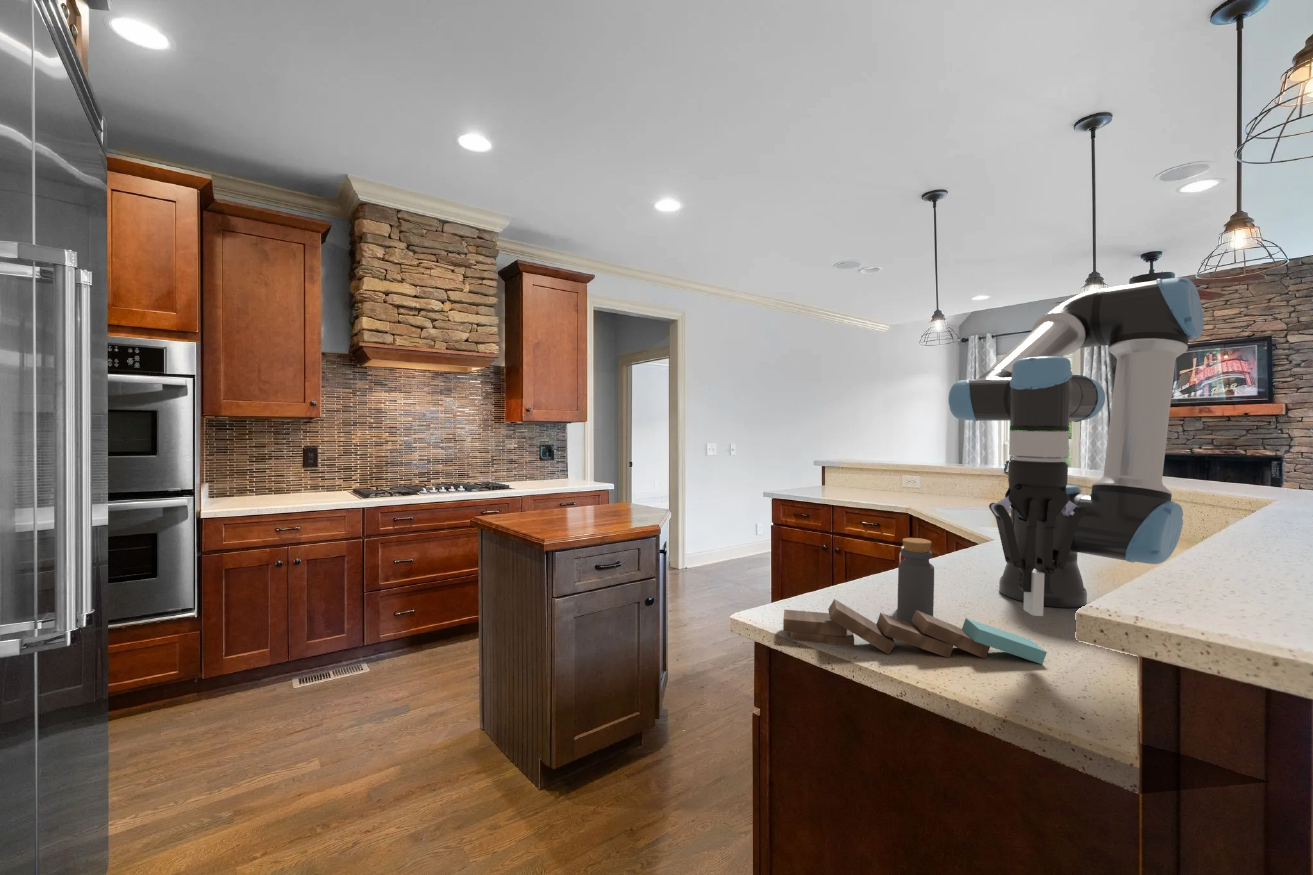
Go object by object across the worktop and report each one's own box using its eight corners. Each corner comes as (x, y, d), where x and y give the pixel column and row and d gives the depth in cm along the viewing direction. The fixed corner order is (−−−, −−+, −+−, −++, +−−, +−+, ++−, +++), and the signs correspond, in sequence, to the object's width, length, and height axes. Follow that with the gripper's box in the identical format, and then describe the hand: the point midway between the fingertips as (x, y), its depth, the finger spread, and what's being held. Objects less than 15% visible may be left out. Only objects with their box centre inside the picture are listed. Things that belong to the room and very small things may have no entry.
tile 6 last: (852, 627, 96) (791, 621, 99) (854, 638, 92) (790, 631, 94) (852, 639, 96) (791, 633, 99) (854, 650, 92) (790, 643, 94)
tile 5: (844, 614, 97) (784, 609, 99) (847, 624, 92) (783, 618, 95) (844, 626, 97) (784, 620, 100) (846, 636, 92) (783, 630, 95)
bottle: (891, 623, 102) (893, 540, 102) (905, 615, 106) (906, 535, 106) (925, 632, 98) (927, 545, 98) (938, 624, 102) (940, 540, 102)
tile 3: (941, 634, 92) (880, 612, 93) (953, 646, 87) (888, 623, 89) (937, 645, 92) (876, 623, 94) (949, 658, 87) (884, 635, 89)
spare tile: (1029, 639, 90) (965, 617, 92) (1047, 652, 85) (979, 629, 87) (1025, 651, 90) (961, 629, 92) (1042, 664, 85) (974, 641, 87)
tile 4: (890, 632, 93) (834, 598, 95) (895, 644, 88) (836, 608, 90) (884, 642, 93) (828, 608, 95) (888, 654, 88) (829, 618, 90)
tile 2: (975, 634, 92) (916, 609, 93) (990, 647, 87) (927, 620, 88) (970, 645, 92) (911, 620, 93) (985, 658, 87) (921, 632, 88)
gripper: (1069, 458, 90) (1064, 607, 91) (981, 457, 92) (977, 602, 92) (1100, 462, 83) (1094, 623, 83) (1004, 460, 84) (999, 618, 85)
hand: (1033, 612), depth 88 cm, fingers closed
